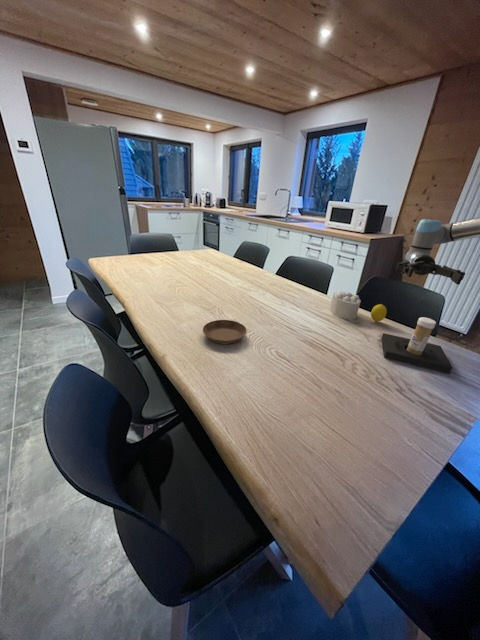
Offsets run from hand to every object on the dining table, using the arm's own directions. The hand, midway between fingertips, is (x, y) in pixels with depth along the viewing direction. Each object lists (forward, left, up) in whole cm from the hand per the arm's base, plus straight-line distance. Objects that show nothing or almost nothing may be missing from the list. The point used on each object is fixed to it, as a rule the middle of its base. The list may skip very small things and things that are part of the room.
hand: (434, 276), depth 85 cm
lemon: (+10, -14, -25) cm, 30 cm away
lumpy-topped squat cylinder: (+23, -16, -25) cm, 38 cm away
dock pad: (0, +9, -25) cm, 26 cm away
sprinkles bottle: (0, +10, -25) cm, 27 cm away
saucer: (+60, +29, -25) cm, 71 cm away
